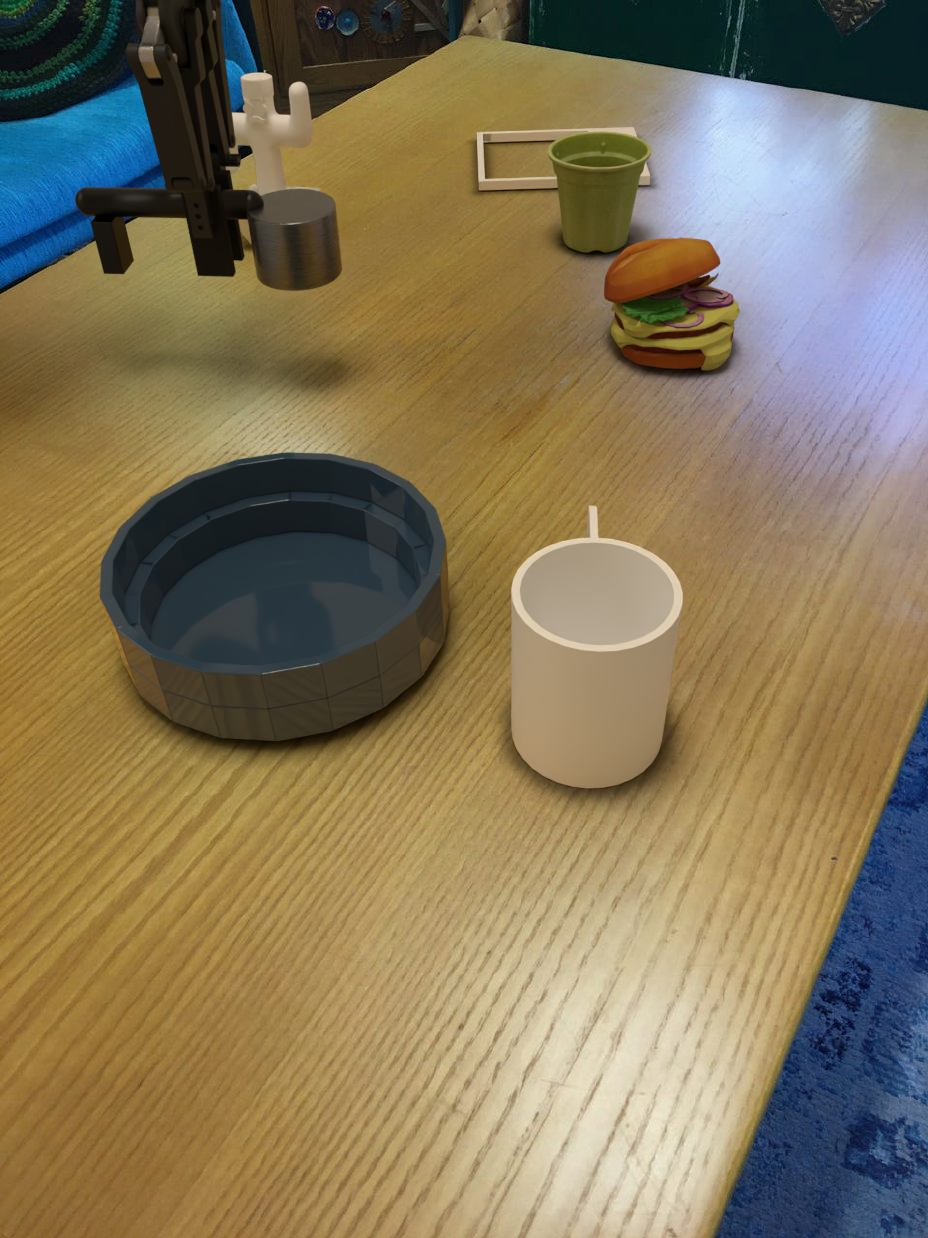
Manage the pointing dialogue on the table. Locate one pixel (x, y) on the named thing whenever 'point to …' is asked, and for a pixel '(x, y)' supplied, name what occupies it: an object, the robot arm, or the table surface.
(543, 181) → the photo frame
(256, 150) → the figurine
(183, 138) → the robot arm
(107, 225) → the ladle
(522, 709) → the cup
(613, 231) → the plant pot
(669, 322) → the cheeseburger
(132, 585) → the bowl
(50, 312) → the table surface
